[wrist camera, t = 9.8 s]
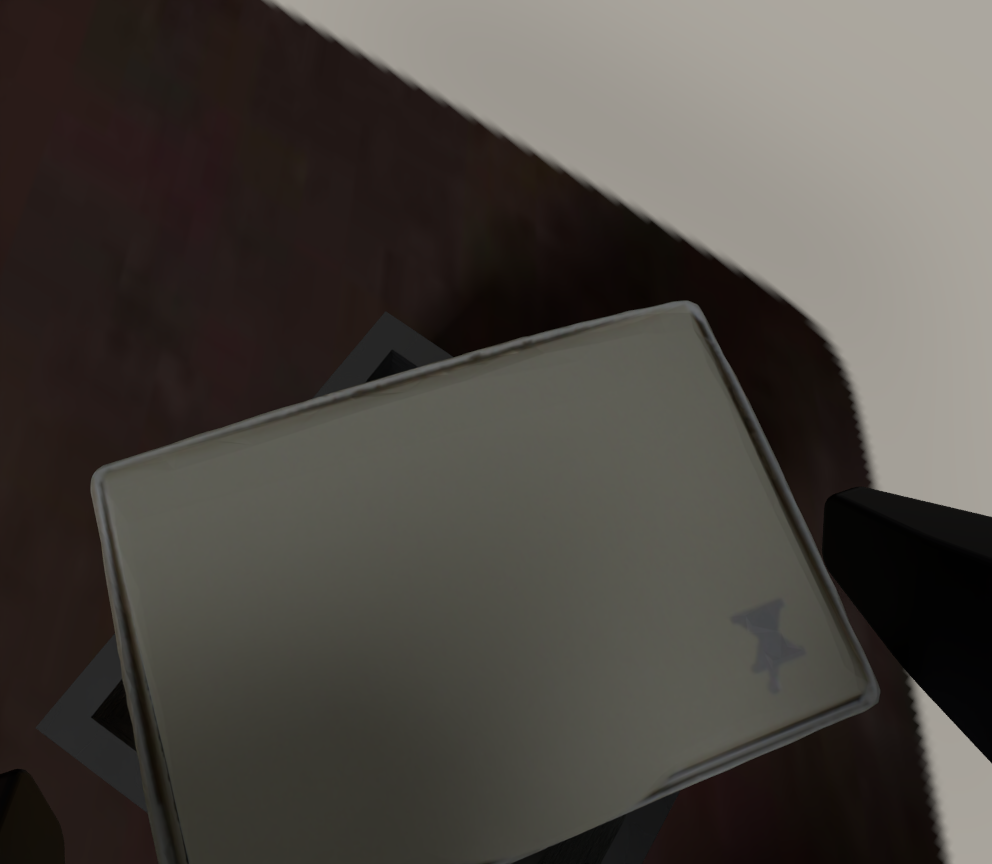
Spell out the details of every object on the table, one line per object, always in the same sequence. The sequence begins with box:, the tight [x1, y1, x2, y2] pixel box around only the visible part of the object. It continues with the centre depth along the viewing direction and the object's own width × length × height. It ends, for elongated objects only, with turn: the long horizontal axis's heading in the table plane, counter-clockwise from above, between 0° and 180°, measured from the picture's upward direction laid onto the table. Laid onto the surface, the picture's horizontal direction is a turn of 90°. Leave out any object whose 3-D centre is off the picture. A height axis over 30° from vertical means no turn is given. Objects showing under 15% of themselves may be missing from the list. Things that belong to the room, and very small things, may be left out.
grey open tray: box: [36, 312, 680, 864], centre depth 17 cm, size 10×10×4 cm
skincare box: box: [91, 300, 880, 864], centre depth 13 cm, size 6×4×12 cm
